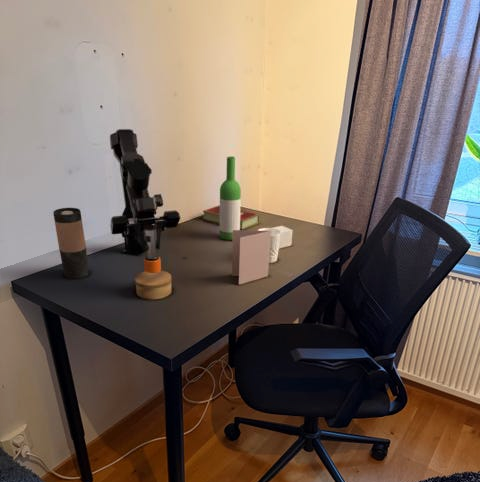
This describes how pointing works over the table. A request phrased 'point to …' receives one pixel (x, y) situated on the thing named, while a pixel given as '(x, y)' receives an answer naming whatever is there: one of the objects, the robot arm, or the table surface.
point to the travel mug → (71, 242)
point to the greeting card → (250, 254)
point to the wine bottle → (229, 202)
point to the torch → (151, 250)
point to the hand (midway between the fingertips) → (152, 249)
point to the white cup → (273, 243)
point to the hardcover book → (245, 217)
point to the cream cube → (285, 236)
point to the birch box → (153, 285)
